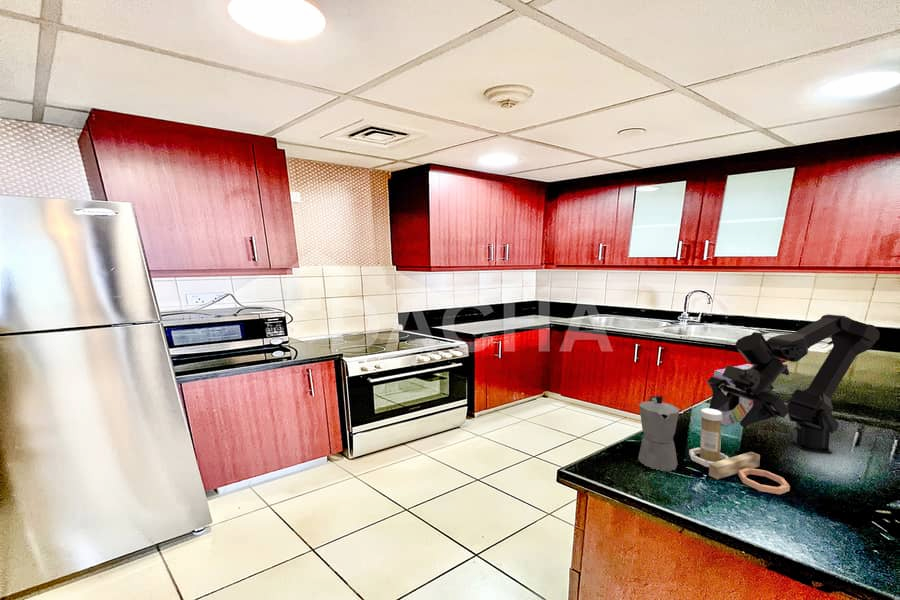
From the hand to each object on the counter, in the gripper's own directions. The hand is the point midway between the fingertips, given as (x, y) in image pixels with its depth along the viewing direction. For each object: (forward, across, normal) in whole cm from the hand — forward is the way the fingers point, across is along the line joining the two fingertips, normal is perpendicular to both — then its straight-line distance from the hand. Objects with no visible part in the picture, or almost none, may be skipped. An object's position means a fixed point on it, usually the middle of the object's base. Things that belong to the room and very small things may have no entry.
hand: (724, 418), depth 99 cm
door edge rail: (+10, +6, +6) cm, 13 cm away
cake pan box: (-11, -21, +27) cm, 36 cm away
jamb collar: (+11, 0, +5) cm, 12 cm away
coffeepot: (+21, -3, -5) cm, 21 cm away
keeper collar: (+9, +12, +7) cm, 16 cm away
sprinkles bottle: (+11, 0, +5) cm, 12 cm away
